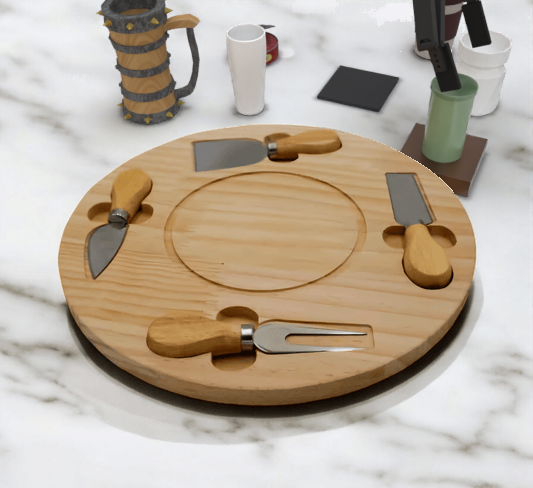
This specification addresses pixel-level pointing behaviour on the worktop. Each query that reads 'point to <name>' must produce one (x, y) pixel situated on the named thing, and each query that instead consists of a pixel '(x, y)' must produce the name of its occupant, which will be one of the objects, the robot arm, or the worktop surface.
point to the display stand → (452, 173)
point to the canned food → (270, 45)
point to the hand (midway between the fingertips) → (467, 66)
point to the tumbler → (448, 120)
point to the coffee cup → (447, 24)
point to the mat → (358, 88)
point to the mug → (148, 57)
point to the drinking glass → (247, 66)
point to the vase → (484, 69)
